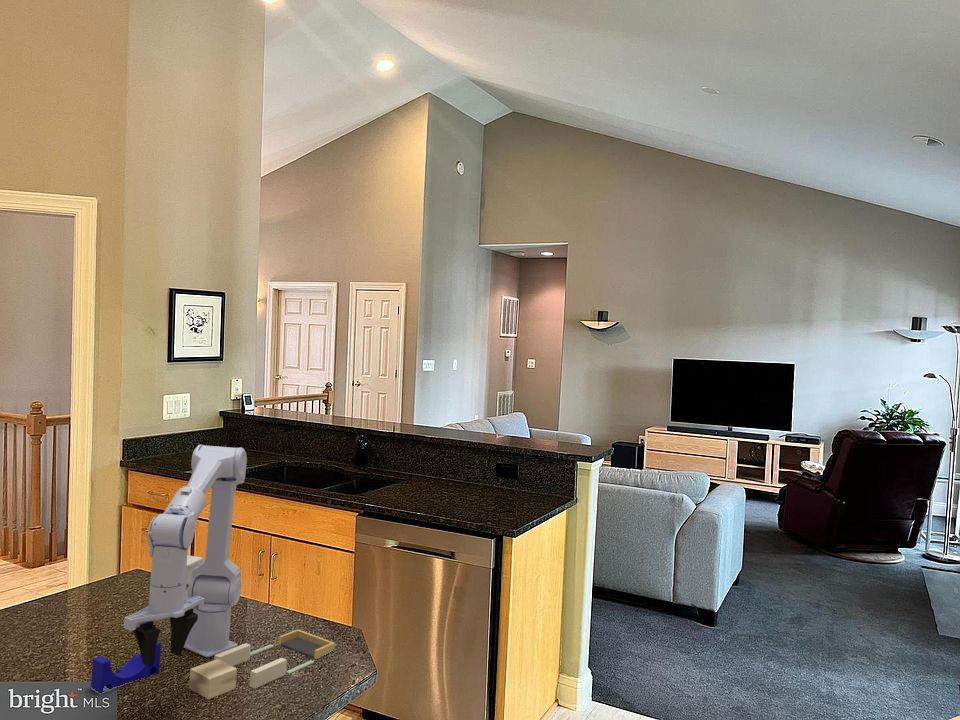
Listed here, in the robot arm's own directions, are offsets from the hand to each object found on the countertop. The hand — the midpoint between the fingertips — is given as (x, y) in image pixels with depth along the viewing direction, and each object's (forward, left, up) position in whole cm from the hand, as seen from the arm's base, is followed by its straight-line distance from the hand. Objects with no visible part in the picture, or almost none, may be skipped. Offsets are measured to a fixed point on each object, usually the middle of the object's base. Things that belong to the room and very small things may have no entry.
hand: (162, 658), depth 127 cm
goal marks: (0, +29, -9) cm, 30 cm away
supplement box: (-37, +31, -10) cm, 49 cm away
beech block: (0, +12, -10) cm, 15 cm away
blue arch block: (-15, +3, -10) cm, 18 cm away
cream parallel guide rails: (0, +21, -9) cm, 23 cm away
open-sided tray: (0, +36, -9) cm, 37 cm away
